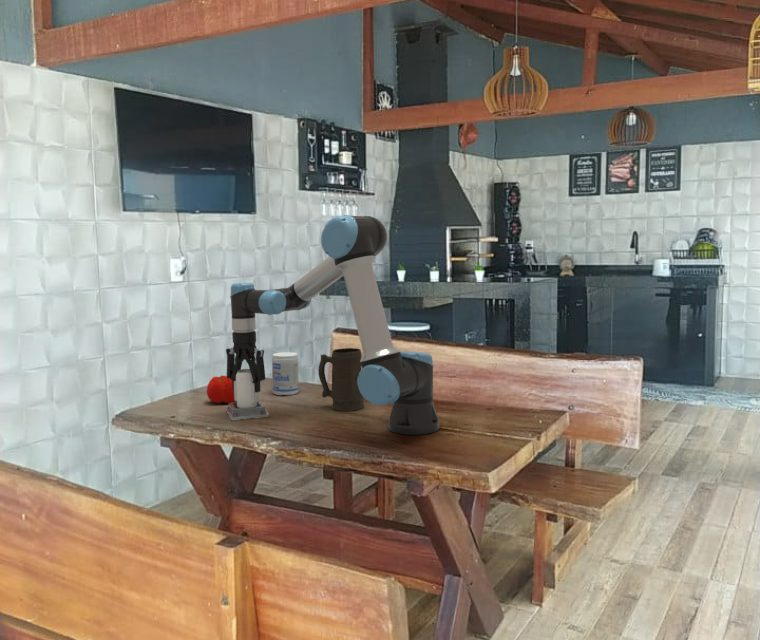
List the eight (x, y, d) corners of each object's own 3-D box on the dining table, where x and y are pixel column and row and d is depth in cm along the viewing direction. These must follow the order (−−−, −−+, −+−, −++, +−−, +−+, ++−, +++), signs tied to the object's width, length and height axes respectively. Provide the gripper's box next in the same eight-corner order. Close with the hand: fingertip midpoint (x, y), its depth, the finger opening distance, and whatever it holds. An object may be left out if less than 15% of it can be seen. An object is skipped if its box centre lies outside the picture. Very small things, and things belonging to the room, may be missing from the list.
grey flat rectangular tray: (269, 417, 232) (268, 407, 231) (231, 420, 228) (230, 411, 228) (261, 407, 245) (261, 398, 245) (226, 410, 241) (225, 401, 241)
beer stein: (368, 403, 248) (362, 346, 246) (364, 411, 237) (358, 351, 235) (323, 406, 249) (318, 349, 247) (318, 413, 239) (312, 354, 237)
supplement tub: (270, 396, 262) (269, 356, 260) (275, 390, 272) (274, 352, 270) (297, 396, 262) (295, 356, 260) (300, 390, 271) (299, 351, 269)
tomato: (201, 402, 254) (200, 377, 253) (232, 397, 262) (231, 372, 261) (216, 407, 246) (215, 381, 245) (247, 402, 254) (246, 376, 253)
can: (239, 404, 239) (237, 368, 238) (258, 404, 239) (257, 368, 238) (235, 409, 233) (233, 372, 232) (255, 408, 233) (253, 372, 231)
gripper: (275, 330, 232) (278, 401, 235) (227, 328, 241) (230, 396, 244) (261, 333, 226) (264, 406, 228) (212, 331, 234) (215, 400, 237)
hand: (246, 400), depth 236 cm, fingers closed on can, 6 cm apart
